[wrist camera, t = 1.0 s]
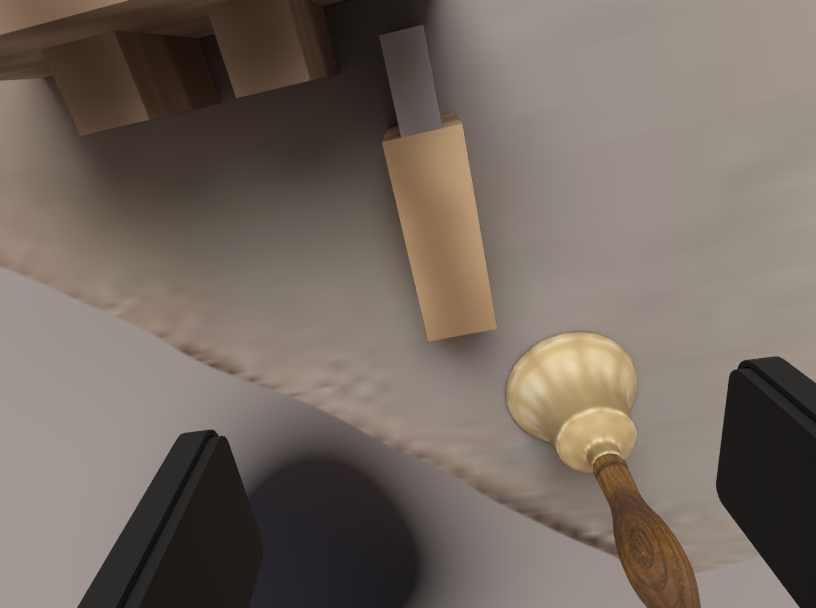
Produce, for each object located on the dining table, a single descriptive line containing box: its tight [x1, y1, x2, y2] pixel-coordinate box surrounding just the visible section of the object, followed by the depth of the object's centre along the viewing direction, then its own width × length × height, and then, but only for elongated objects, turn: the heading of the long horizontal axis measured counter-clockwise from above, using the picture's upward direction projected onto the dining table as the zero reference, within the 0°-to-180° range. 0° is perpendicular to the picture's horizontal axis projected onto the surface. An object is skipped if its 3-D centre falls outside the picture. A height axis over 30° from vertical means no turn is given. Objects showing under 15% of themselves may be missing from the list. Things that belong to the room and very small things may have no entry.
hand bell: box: [506, 332, 701, 608], centre depth 27 cm, size 8×8×16 cm
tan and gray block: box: [379, 25, 497, 342], centre depth 26 cm, size 4×14×5 cm, turn 12°
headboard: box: [0, 0, 344, 136], centre depth 20 cm, size 20×5×12 cm, turn 102°
